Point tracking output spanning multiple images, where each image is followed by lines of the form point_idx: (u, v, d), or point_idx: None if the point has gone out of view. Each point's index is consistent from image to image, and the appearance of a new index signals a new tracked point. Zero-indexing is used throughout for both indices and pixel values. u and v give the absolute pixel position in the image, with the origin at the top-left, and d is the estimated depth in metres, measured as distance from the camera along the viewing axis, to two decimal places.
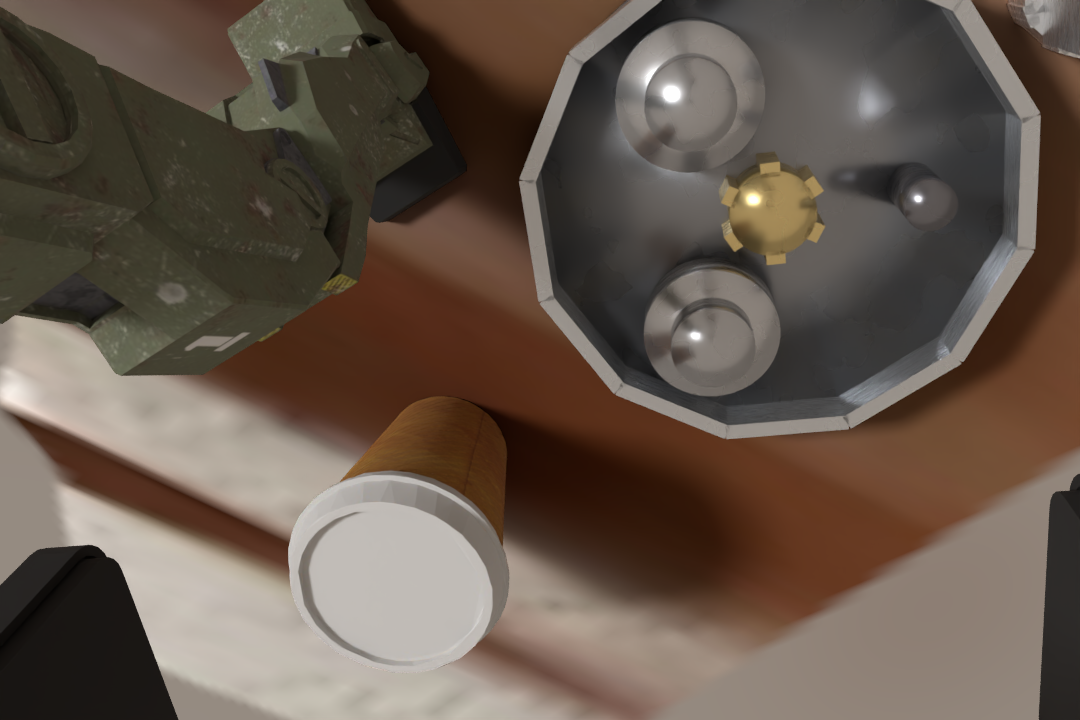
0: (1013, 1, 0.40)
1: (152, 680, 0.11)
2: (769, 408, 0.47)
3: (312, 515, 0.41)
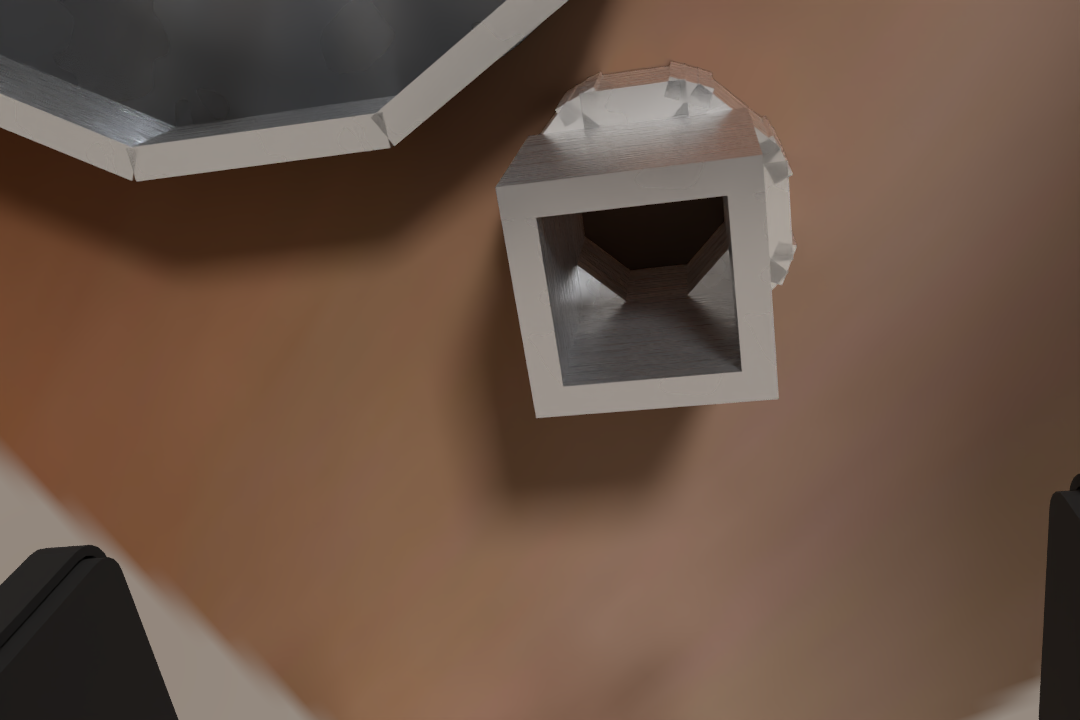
0: (604, 79, 0.21)
1: (152, 680, 0.11)
2: None
3: None
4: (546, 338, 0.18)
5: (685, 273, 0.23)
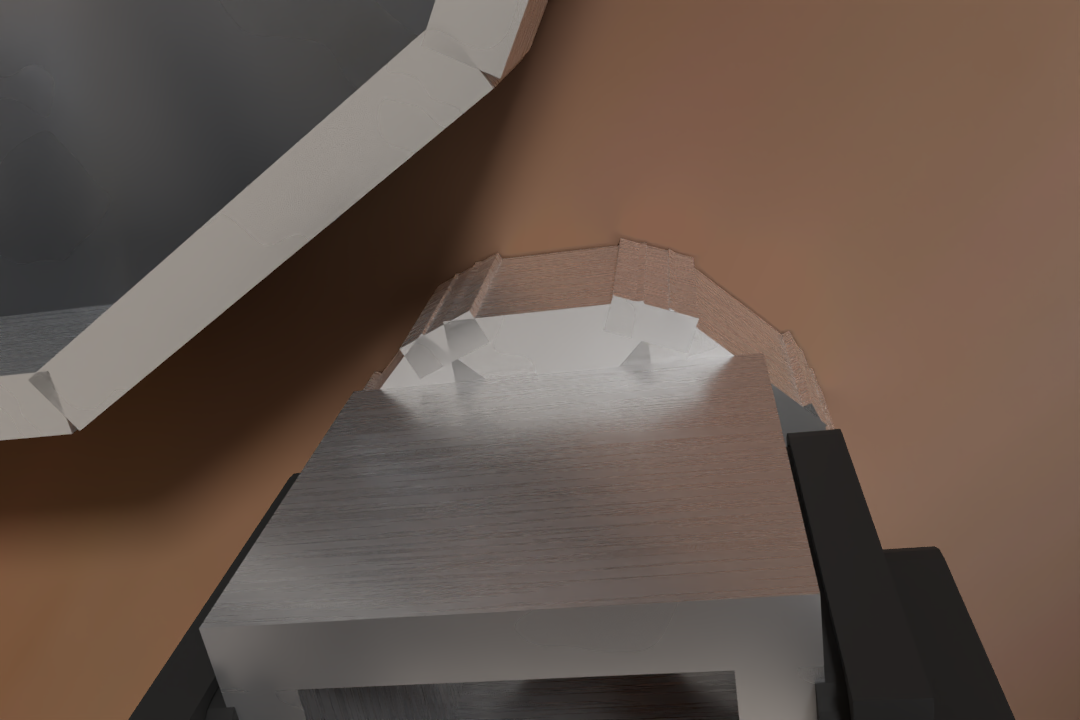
0: (501, 274, 0.12)
1: None
2: None
3: None
4: None
5: None
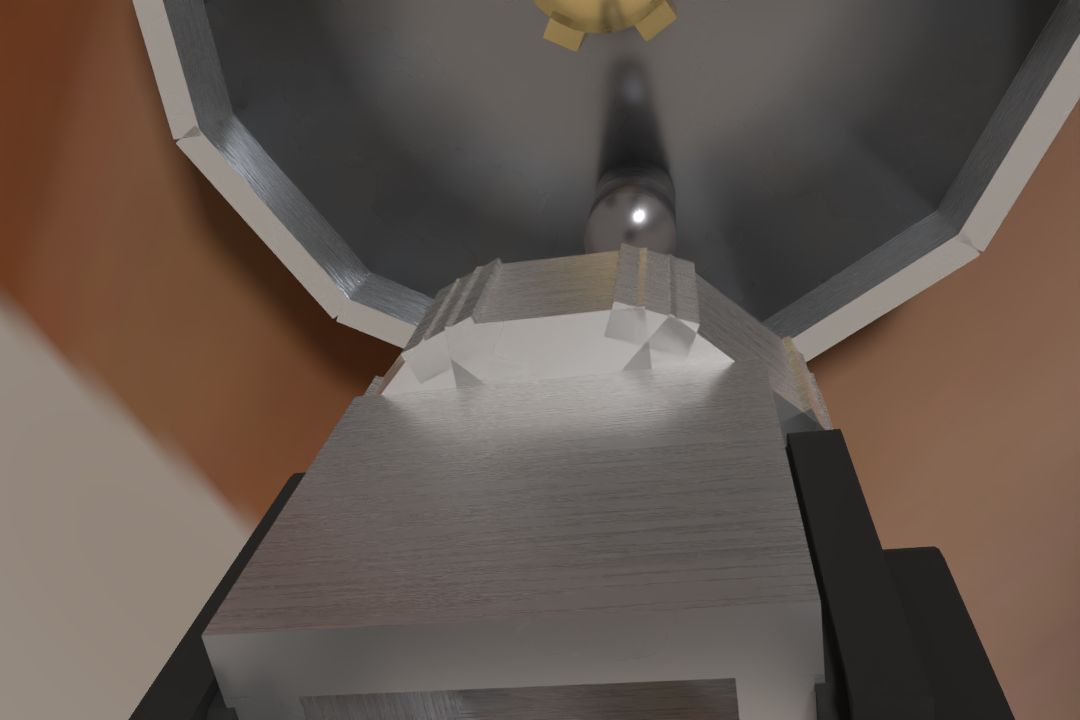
0: (502, 279, 0.12)
1: None
2: None
3: None
4: None
5: None
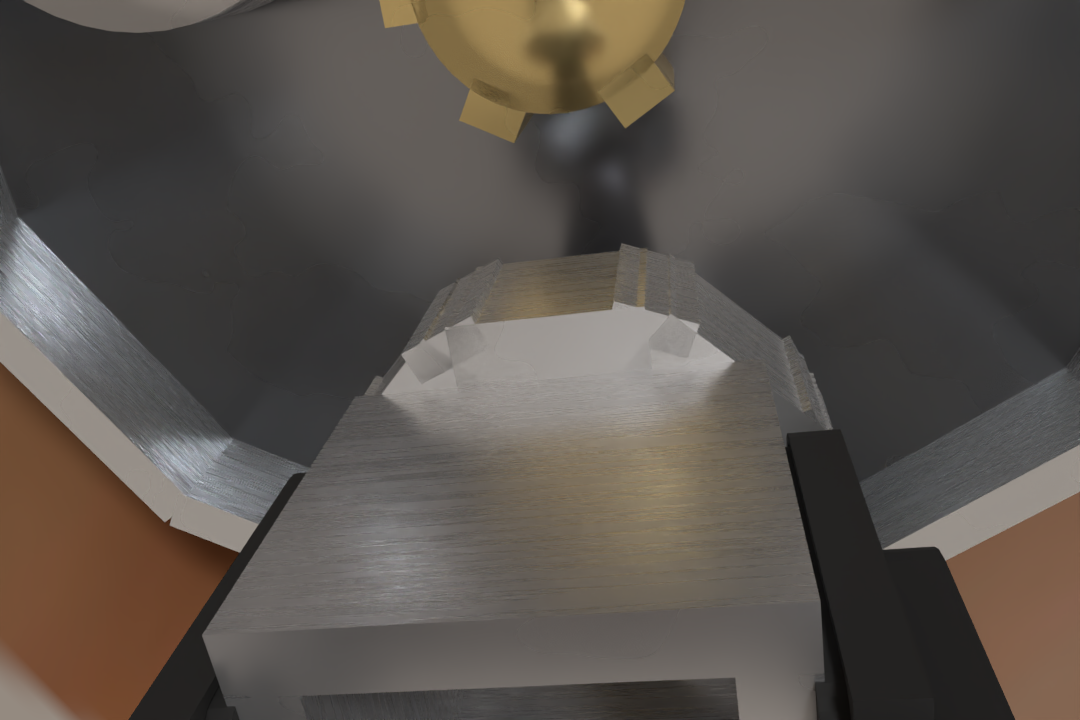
0: (502, 279, 0.12)
1: None
2: None
3: None
4: None
5: None
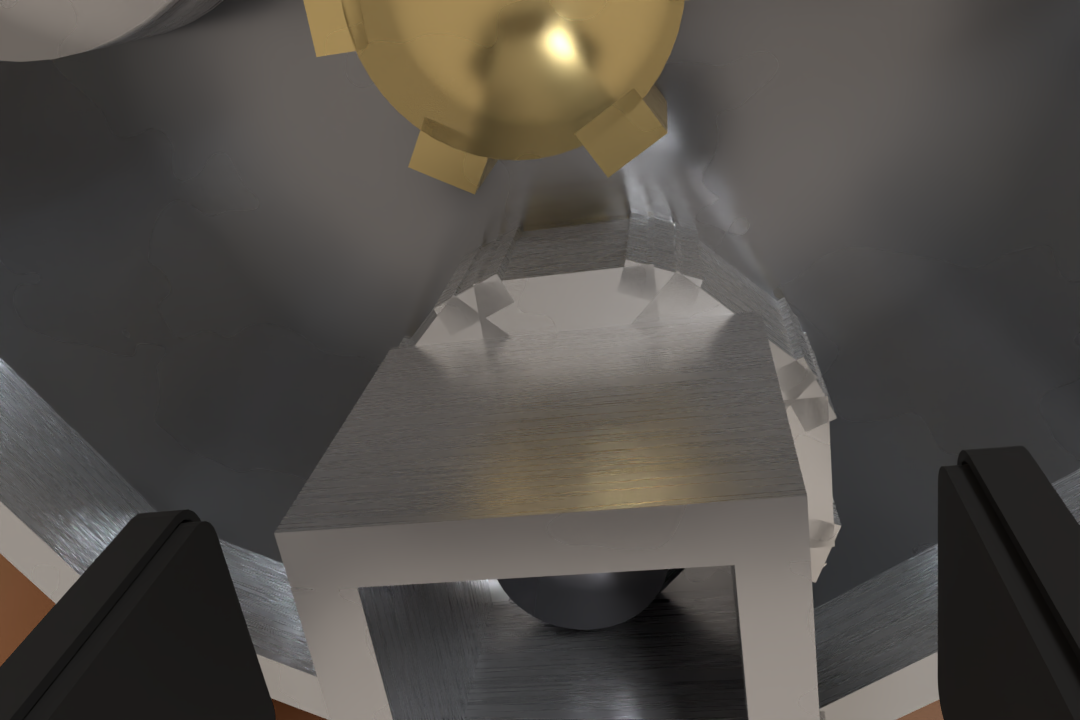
0: (523, 244, 0.13)
1: (243, 641, 0.11)
2: None
3: None
4: None
5: None
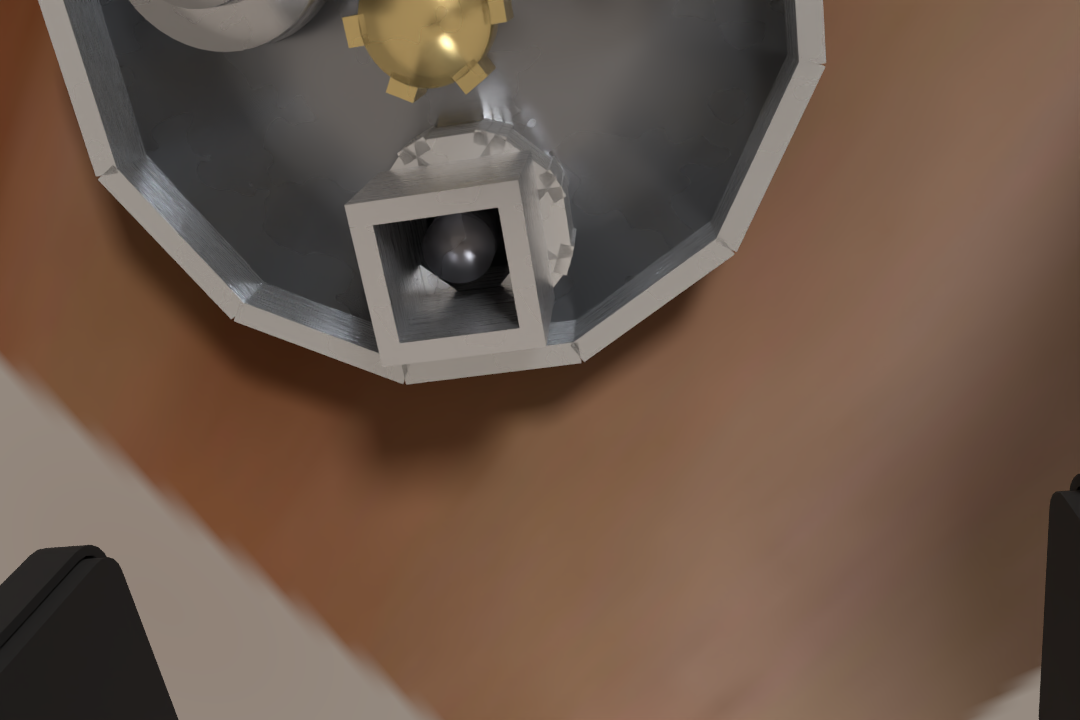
0: (435, 131, 0.29)
1: (152, 680, 0.11)
2: (103, 49, 0.29)
3: None
4: (385, 309, 0.26)
5: (504, 271, 0.31)
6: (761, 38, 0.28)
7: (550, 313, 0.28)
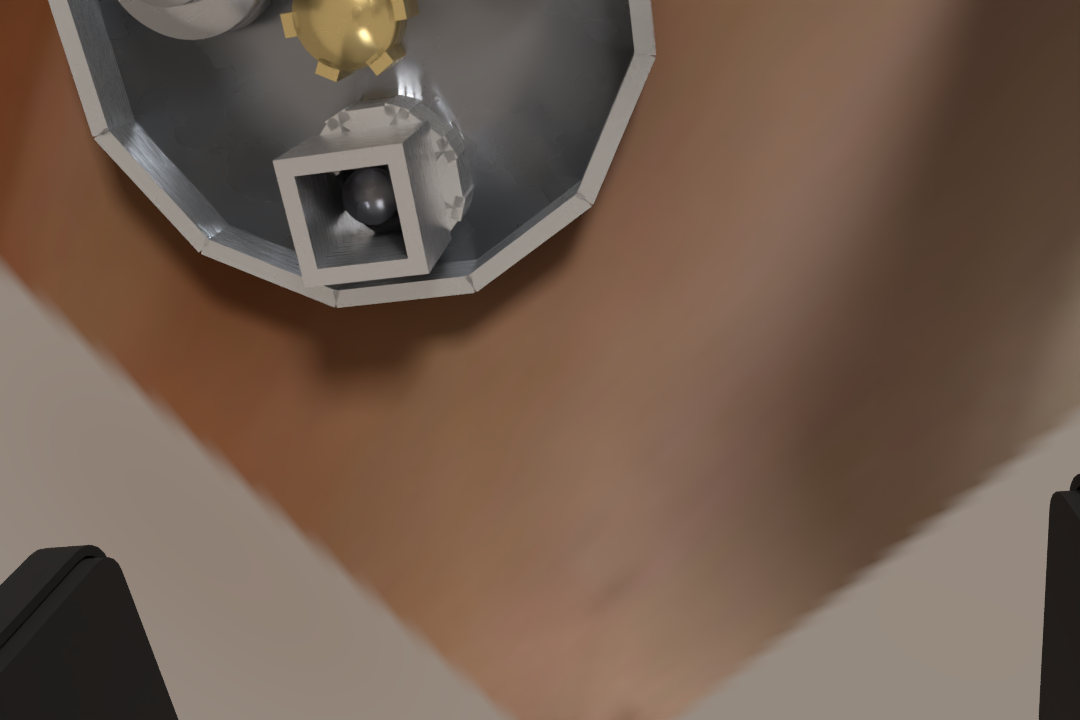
0: (359, 104, 0.37)
1: (152, 680, 0.11)
2: (99, 35, 0.37)
3: None
4: (305, 242, 0.33)
5: None
6: (615, 33, 0.35)
7: (441, 250, 0.35)
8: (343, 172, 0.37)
